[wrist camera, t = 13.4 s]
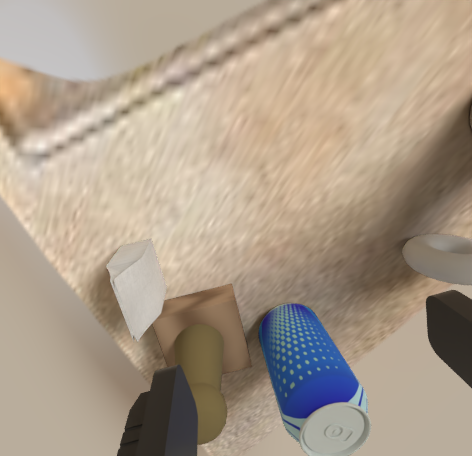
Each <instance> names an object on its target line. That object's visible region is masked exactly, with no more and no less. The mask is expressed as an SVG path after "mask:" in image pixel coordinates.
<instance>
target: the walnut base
mask: <svg viewBox="0 0 472 456" xmlns="http://www.w3.org/2000/svg"><path fill="white" fill-rule="evenodd" d="M197 324H203V325H208V326H211V327H214V328H215V329H216V330H218V331H219V332H220V334H221V335H222V336H223V340H224V351H223V364H222V374H226V373H229V372H233V371H237V370H241V369H244V368H248V367H252V365H251V361H250V356H249V352H248V347H247V343H246V339H245V335H244V331H243V327H242V323H241V319H240V315H239V311H238V307H237V303H236V299H235V295H234V291H233V287H232V284H229V285H225V286H221V287H217V288H213V289H209V290H205V291H201V292H197V293H193V294H189V295H185V296H181V297H177V298H173V299H169V300H165V301H164V303H163V307H162V312H161V314H160V315H159V316H158V317H157V319H156V320H155V321H154V322H153V323H152V325H153V327H154V330H155V333H156V336H157V338H158V341H159V344H160V347H161V349H162V352H163V355H164V358H165V360H166V363H167V366H168V367H171V366H175V352H174V344H175V340H176V338H177V336H178V335H179V333H180V332H181V331H182V330H184V329H186V328H187V327H189V326H193V325H197Z"/></svg>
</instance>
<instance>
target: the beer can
mask: <svg viewBox="0 0 472 456" xmlns="http://www.w3.org/2000/svg"><path fill="white" fill-rule="evenodd" d="M259 340H260V344H261V347H262V351H263V354H264V358H265V361H266V365H267V368H268V372H269V375H270V379H271V382H272V386H273V389H274V393H275V396H276V400H277V403H278V407H279V410H280V414H281V417H282V421H283V424H284V426H285V428H286V430H287V432H288V433H289V434H290V435H291V436H292V437H293V438H294V439H295V440H296V441H297V442H299V443H300V445H301V448H302V449H303V451H304V452H305V453H306V454H307V455H308V456H349V455H351V454H353V453H354V452H356V451H357V450H358V449H360V447H361V446H363V444H364V443H365V442H366V440H367V439H368V437H369V434H370V431H371V421H370V418H369V416H368V402H367V396H366V393H365V391H364V389H363V387H362V386H361V384H360V383H359V381H358V379H357V378H356V376H355V375H354V373H353V372H352V370H351V369H350V367H349V366H348V364H347V362H346V361H345V359H344V358H343V356H342V355H341V353H340V352H339V350H338V348H337V347H336V345H335V344H334V342H333V341H332V339H331V338H330V336H329V335H328V333H327V331H326V330H325V328H324V327H323V325H322V324H321V322H320V321H319V319H318V318H317V316H316V315H315V313H314V312H313V311H312V310H311V309H310V308H308V307H306V306H304V305H301V304H296V303H286V304H281V305H279V306H276V307H275V308H273V309H272V310H270V311H269V312H268V314H267V315H266V316H265V317H264V318H263V320H262V322H261V324H260V327H259Z"/></svg>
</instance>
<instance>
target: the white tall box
mask: <svg viewBox="0 0 472 456" xmlns="http://www.w3.org/2000/svg"><path fill="white" fill-rule="evenodd" d="M106 267H107V270H108V273H109V275H110V282H111V285H112V288H113V290H114V293H115V295H116V298H117V301H118V303H119V306H120V308H121V311H122V313H123V316H124V319H125V321H126V324H127V326H128V329H129V331H130V334H131V337H132V339H133V342H134V337H135V339H136V340H137V342H138V341H139V339H140V337H141V336H142V335H143V333H144V332H145V331H146V330H147V329H148V327H149V326H150V325H151V324H152V323H153V322H154V321H155V320H156V319H157V317H158V316H159V315H160V314H161V312H162V307H163V303H164V298H165V294H166V290H167V285H166V282H165V279H164V276H163V273H162V270H161V267H160V264H159V261H158V257H157V254H156V251H155V248H154V245H153V242H152V239H147V240H143V241H139V242H134V243H130V244H126V245H122V246H120V248H119V249H118V250H117V252H116V253H115V255H114V256H113V257H112V259H111V260H110V261H109V263H108V264H107V265H106Z"/></svg>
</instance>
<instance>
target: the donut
mask: <svg viewBox="0 0 472 456" xmlns="http://www.w3.org/2000/svg"><path fill="white" fill-rule="evenodd" d="M402 254H403V257H404V259H405V262H406V263H407V264H408V265H409V266H410V267H411V268H412V269H414V270H415V271H417V272H419V273H421V274H423V275H425V276H427V277H430V278H433V279H436V280H439V281H443V282H447V283H452V284H461V285H472V239H470V238H465V237H461V236H454V235H446V234H426V235H419V236H416V237H414V238H411V239H410V240H408V241H407V242H406V244H405V245H404V247H403V250H402Z"/></svg>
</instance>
